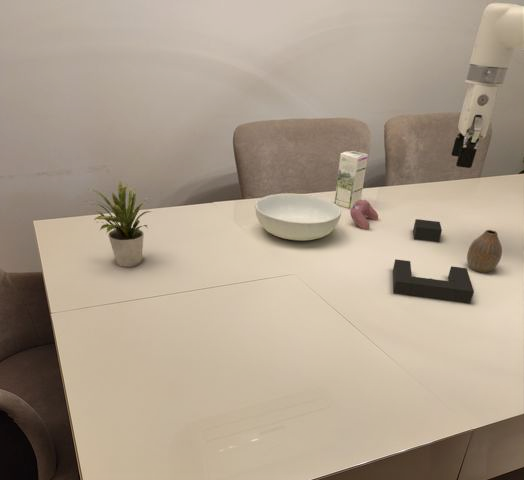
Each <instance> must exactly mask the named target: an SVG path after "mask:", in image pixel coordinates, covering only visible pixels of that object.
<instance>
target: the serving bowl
mask: <svg viewBox="0 0 524 480" xmlns="http://www.w3.org/2000/svg"><path fill="white" fill-rule="evenodd" d="M254 208H255V209H254V210H255V216H256V218H257V221H258V223H259V224H260V225H261V227H262V228H263V229H264V230H265V231H267V233H269V234H271V235H273V236H275V237H278V238H282V239H285V240H290V241H312V240H317V239H321V238H323V237H326V236H327V235H329V234H330V233H332V232H333V231H334V230H335V228H336V227H337V226H338V224H339V222H340V219H341V216H342V209H341V208H340V206H339V205H336V204H335V202H333V201H331V200H330V199H326V198H323V197H320V196H315V195H311V194H304V193H276V194H270V195H266V196H263V197H260V198H259V199H257V201H256V202H255V205H254Z"/></svg>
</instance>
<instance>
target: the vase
mask: <svg viewBox="0 0 524 480" xmlns="http://www.w3.org/2000/svg"><path fill="white" fill-rule="evenodd" d="M502 255H503V246H502V243H501V241H500V239H499V236H498V232H497V231H496V230H492V229H486V230H485V231H484V232H483V233H482V234H481V235H480V236H478V237H477V238H475V239H474V240H473V241H472V243H471V244H470V246H469V247H468V250H467V254H466V262H467V263H466V264H468V267H469V269H471V270H473V271H475V272H476V273H477V272H478V273H485V274H486V273H489V272H492V271H493V270H494V269H496V268H497V266H498V265H499V263H500V261H501V259H502Z"/></svg>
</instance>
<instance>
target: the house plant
mask: <svg viewBox="0 0 524 480" xmlns="http://www.w3.org/2000/svg"><path fill="white" fill-rule="evenodd" d="M117 187H118V189H117V190H118V193H117V194H118V197H117V195H116V194H115V193H114V192H112V193H111V196H112V200H113V203H114V204H111V202H110V200H109V199H108V198H107V197H106V196H105V195H103V194H102V193H101V192H99V191H98V190H95V189H91V188H88V191H93V192H95V193H96V194H97V195H99V196H100V197H101V198H102V199H103V200H104V201H105V203H106V204H107V205H106V204H104V203H102V202H99V201H97V200H91V202H92V203H93V202H94V203H93V204H92V203H91V206H94V205H97V206H99V207H101V208H103V209H104V211H106V213H108V215H105V214H103V213H102V212H101V211H98V210H95V209H92V211H93V212H96V213H98V214H99V215H98V216H97V217H94V219H93V221H96V220H105V221H106V222H105V221H102V223H104V224H102V225H101V226H100V229H99V231H101V230H103V229H105V228H106V233H107V234H108V235H107V236H108V238H109V243H110V245H111V249H112V251H113V255H114V256H113V257H114V259H115V262H116V264H117V265H118V266H120V267H122V268H123V267H124V268H132V267H136V266H138V265H140V264H141V262H142V261H143V248H144V235H145V234H144V231H143V230H141V229H140V228H142V227H145V228H148V225H147V224H144V225H139V224H140V220H139V219H140V218H141V217H142V216H143V215H145V214H147V213H151V211H150V210H147V211H144V212H142V213H141V214H139V215H138V213H139V211H140V209H141V207H142V206H143V205H144V203H145V202H146V203H148V202H149V201H146V200H147V199H148V197H146V198H145V199H144V200H143V202H142V203H140V204H139V205H138V206H137V207H136V208H135V204H136V199H137V198H136V197H137V196H136V189H135V188H134V190H133V191H132V187H131V186H129V191H128V201H127V206H126V199H127V198H126V197H127V188H128V184H126V185H124V186H123V185H122V182H121V181H120V180H118V186H117ZM85 190H87V188H85ZM84 202H87V200H86V201H84ZM97 203H99V204H97ZM111 212H112V214H113V215H114V216H113V215H112V214H111ZM95 223H98V221H96V222H95Z"/></svg>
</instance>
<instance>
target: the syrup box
mask: <svg viewBox="0 0 524 480" xmlns="http://www.w3.org/2000/svg"><path fill="white" fill-rule="evenodd" d="M368 157H369V154H368V153H364V152H360V151H354V150H347V151H344V152H341V153H340V155H339V162H338V163H339V164H338V172H337V180H336V189H335V195H334V196H335V198H334V203H335V204H336V205H338V206H339V207H343V208H346V209H350V210H351V208H352V207H353V205H354V203H355V202H356V201H359V200H362V196H363V190H364V189H363V188H364V183H365V177H366V170H367V164H368Z"/></svg>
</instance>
